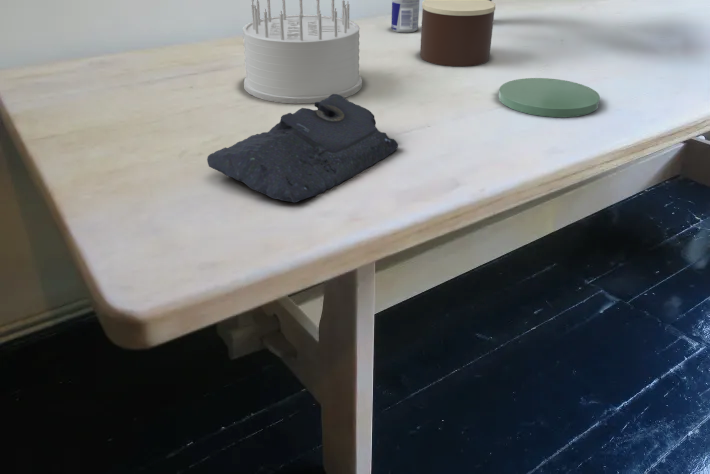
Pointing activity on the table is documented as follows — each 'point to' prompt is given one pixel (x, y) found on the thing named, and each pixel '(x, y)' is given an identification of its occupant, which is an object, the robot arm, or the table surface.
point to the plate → (549, 97)
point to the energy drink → (405, 15)
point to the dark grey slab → (307, 151)
